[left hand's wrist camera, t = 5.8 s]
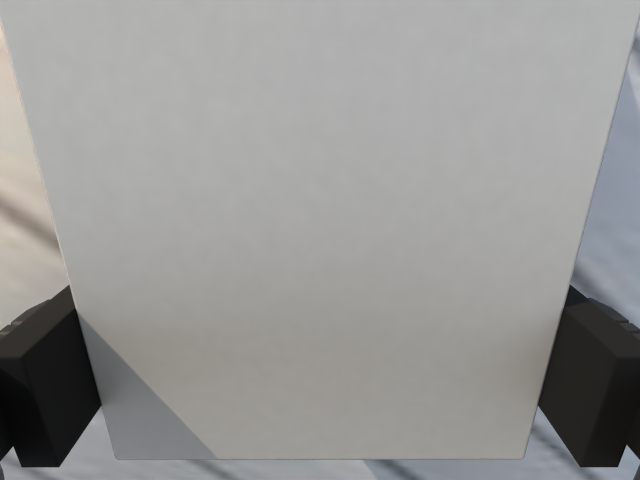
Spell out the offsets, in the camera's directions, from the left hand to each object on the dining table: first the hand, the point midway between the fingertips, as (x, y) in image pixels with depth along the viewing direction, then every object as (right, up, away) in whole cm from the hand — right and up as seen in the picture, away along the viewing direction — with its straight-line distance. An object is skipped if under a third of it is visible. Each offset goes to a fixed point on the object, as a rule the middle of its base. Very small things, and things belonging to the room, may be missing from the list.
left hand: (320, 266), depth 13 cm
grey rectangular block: (0, +9, +3) cm, 9 cm away
